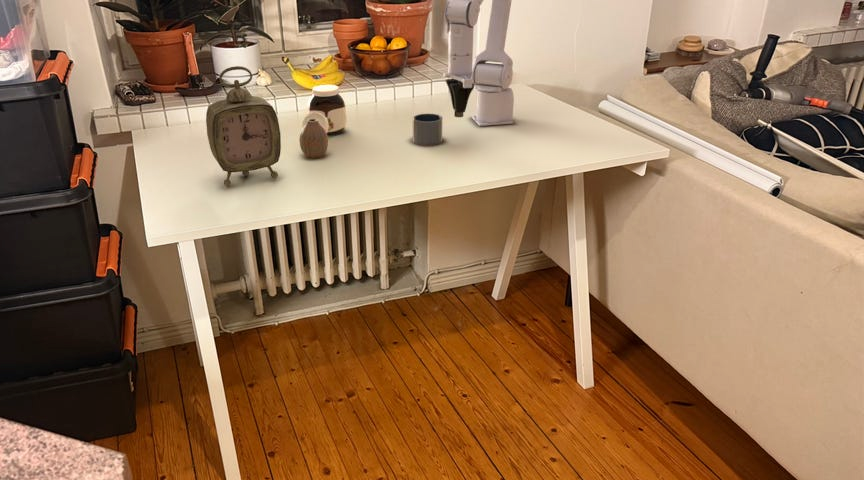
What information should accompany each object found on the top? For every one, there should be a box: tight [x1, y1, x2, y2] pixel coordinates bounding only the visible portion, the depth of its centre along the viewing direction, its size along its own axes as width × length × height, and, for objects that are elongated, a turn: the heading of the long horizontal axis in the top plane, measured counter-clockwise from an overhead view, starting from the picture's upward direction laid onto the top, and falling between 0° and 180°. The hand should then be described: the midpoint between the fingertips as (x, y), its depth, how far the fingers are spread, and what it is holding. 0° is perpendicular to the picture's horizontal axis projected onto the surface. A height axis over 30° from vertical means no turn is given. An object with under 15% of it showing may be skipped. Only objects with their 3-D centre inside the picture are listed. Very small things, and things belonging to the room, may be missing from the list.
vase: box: [298, 119, 329, 159], centre depth 168 cm, size 7×7×9 cm
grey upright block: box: [454, 109, 465, 118], centre depth 171 cm, size 2×2×6 cm
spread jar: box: [301, 84, 347, 137], centre depth 182 cm, size 12×11×12 cm
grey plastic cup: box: [412, 113, 444, 147], centre depth 176 cm, size 7×7×6 cm
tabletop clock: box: [205, 65, 282, 188], centre depth 152 cm, size 14×9×25 cm, turn 114°
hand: (459, 110), depth 171 cm, fingers closed on grey upright block, 2 cm apart
